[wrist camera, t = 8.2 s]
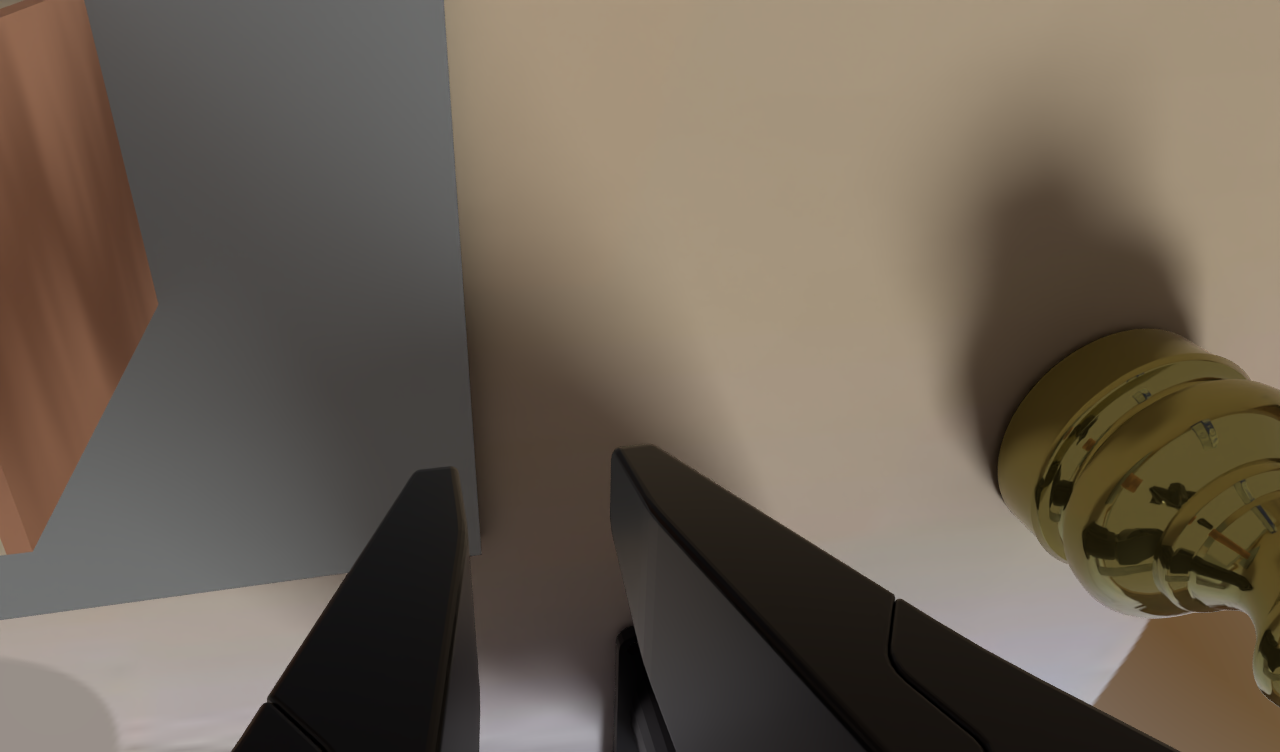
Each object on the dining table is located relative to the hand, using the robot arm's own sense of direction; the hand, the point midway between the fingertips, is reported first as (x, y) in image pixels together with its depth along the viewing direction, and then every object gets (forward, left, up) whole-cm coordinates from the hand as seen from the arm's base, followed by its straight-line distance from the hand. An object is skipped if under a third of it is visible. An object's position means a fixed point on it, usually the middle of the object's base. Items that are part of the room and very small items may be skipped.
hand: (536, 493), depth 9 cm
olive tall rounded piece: (-9, -19, -12) cm, 24 cm away
